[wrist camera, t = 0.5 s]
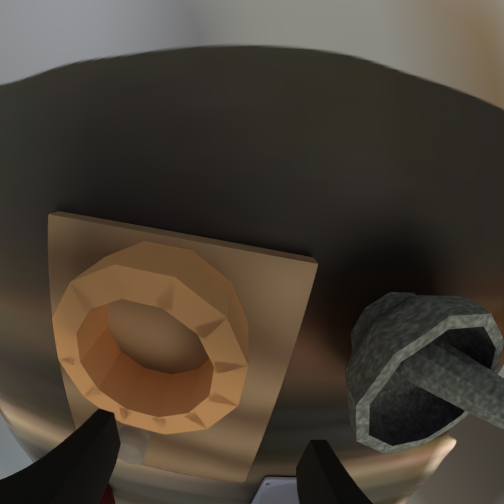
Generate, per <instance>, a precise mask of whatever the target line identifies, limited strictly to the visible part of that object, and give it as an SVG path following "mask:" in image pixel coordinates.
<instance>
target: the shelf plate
mask: <svg viewBox="0 0 504 504" xmlns="http://www.w3.org/2000/svg"><path fill="white" fill-rule="evenodd" d="M143 241H146V242H151V243H156V244H162V245H167V246H172V247H178V248H183V249H188V250H193V251H194V252H195V253H196V254H197V255H199V256H200V257H201V258H202V259H204V260H205V261H206V262H207V263H209V264H210V265H211V266H212V267H213V268H215V269H216V270H217V271H218V272H220V273H221V274H222V275H223V276H225V277H226V278H227V279H228V280H230V281H231V282H232V284H233V287H234V289H235V292H236V294H237V297H238V299H239V302H240V304H241V307H242V309H243V312H244V314H245V317H246V319H247V322H248V369H247V374H246V378H245V382H244V386H243V389H242V393H241V397H240V401H239V406H237V407H236V408H235V409H233V410H232V411H231V412H229V413H228V414H227V415H225V416H224V417H223V418H221V419H220V420H219V421H217V422H216V423H215V424H213V425H212V426H210V427H209V428H208V429H204V430H197V431H190V432H182V433H174V434H161V433H157V432H153V431H149V430H145V429H141V428H138V427H134V426H131V425H127V424H124V423H121V422H119V421H118V420H116V424H117V429H118V433H119V438H120V442H121V445H120V449H119V453H118V457H117V458H120V459H121V460H123V461H125V462H128V463H132V464H141V465H145V466H149V467H153V468H157V469H161V470H165V471H170V472H175V473H180V474H185V475H190V476H196V477H202V478H209V479H216V480H223V481H232V482H242V483H245V480H246V478H247V475H248V473H249V471H250V468H251V466H252V463H253V461H254V458H255V456H256V453H257V451H258V448H259V446H260V443H261V440H262V438H263V435H264V433H265V430H266V427H267V425H268V422H269V419H270V416H271V414H272V411H273V408H274V405H275V403H276V400H277V397H278V394H279V391H280V388H281V385H282V382H283V380H284V377H285V374H286V371H287V368H288V365H289V361H290V358H291V355H292V352H293V349H294V346H295V343H296V340H297V336H298V333H299V330H300V327H301V323H302V320H303V317H304V313H305V310H306V306H307V303H308V299H309V296H310V292H311V289H312V285H313V282H314V278H315V274H316V271H317V267H318V263H317V262H316V260H315V259H314V258H313V257H308V256H303V255H297V254H292V253H287V252H281V251H276V250H271V249H265V248H260V247H255V246H249V245H244V244H238V243H233V242H228V241H222V240H217V239H211V238H206V237H200V236H195V235H190V234H184V233H179V232H173V231H168V230H162V229H157V228H151V227H146V226H140V225H134V224H129V223H123V222H118V221H112V220H106V219H101V218H95V217H90V216H84V215H78V214H73V213H67V212H61V211H57V212H54V213H51V214H48V269H49V286H50V299H51V309H52V317H53V315H54V313H55V311H56V309H57V307H58V305H59V303H60V301H61V299H62V297H63V295H64V293H65V291H66V289H67V287H68V285H69V283H70V282H71V281H72V280H73V279H75V278H76V277H78V276H79V275H80V274H82V273H83V272H84V271H86V270H87V269H89V268H90V267H91V266H93V265H94V264H96V263H97V262H99V261H100V260H101V259H103V258H104V257H106V256H108V255H111V254H113V253H116V252H118V251H121V250H123V249H126V248H128V247H131V246H133V245H136V244H138V243H141V242H143ZM107 324H108V328H109V330H110V332H111V334H112V335H113V337H114V339H115V341H116V342H117V344H118V346H119V348H120V349H121V351H122V352H124V353H125V354H126V355H128V356H129V357H130V358H132V359H133V360H134V361H136V362H137V363H138V364H140V365H141V366H143V367H144V368H147V369H151V370H155V371H159V372H164V373H168V374H176V373H181V372H186V371H190V370H195V369H198V368H199V367H200V366H201V365H203V364H204V363H205V362H206V361H207V360H208V359H209V356H208V354H207V352H206V350H205V348H204V346H203V344H202V342H201V340H200V338H199V336H198V334H196V333H195V332H193V331H192V330H191V329H189V328H188V327H187V326H185V325H184V324H183V323H181V322H180V321H179V320H177V319H176V318H175V317H173V316H172V315H171V314H169V313H168V312H167V311H165V310H164V309H163V308H159V307H155V306H150V305H146V304H142V303H137V302H133V301H129V300H125V299H120V300H116V301H113V302H110V303H107ZM59 363H60V361H59ZM60 368H61V372H62V377H63V382H64V386H65V390H66V394H67V398H68V402H69V406H70V410H71V413H72V417H73V420H74V423H75V427H76V430H77V429H78V428H79V427H80V426H81V425H82V424H83V423H84V422H85V421H86V420H87V419H88V418H89V417H90V416H91V415H92V414H93V413H94V412H95V411H96V410H97V409H99V407H97V406H96V405H95V404H93V403H92V402H90V401H89V400H88V399H86V398H85V397H84V396H83V395H82V394H81V392H80V391H79V389H78V388H77V387H76V385H75V384H74V382H73V381H72V379H71V378H70V376H69V375H68V374H67V372H66V371H65V369H64V367H63V366H62V364H61V363H60Z"/></svg>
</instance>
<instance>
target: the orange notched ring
mask: <svg viewBox="0 0 504 504" xmlns="http://www.w3.org/2000/svg"><path fill="white" fill-rule="evenodd" d="M120 299H125V300H129V301H133V302H137V303H142V304H146V305H150V306H155V307H159V308H163V309H164V310H165V311H167V312H168V313H169V314H171V315H172V316H173V317H175V318H176V319H177V320H179V321H180V322H181V323H183V324H184V325H185V326H187V327H188V328H189V329H191V330H192V331H193V332H195V333H196V334H198V336H199V338H200V340H201V342H202V344H203V346H204V348H205V350H206V352H207V354H208V356H209V359H208V360H207V361H206V362H205V363H204V364H203V365H201V366H200V367H199V368H198V369H195V370H190V371H186V372H181V373H176V374H168V373H164V372H159V371H155V370H151V369H147V368H144V367H143V366H141V365H140V364H138V363H137V362H136V361H134V360H133V359H132V358H130V357H129V356H128V355H126V354H125V353H124V352H122V351H121V349H120V348H119V346H118V344H117V342H116V341H115V339H114V337H113V335H112V334H111V332H110V330H109V328H108V324H107V303H110V302H113V301H116V300H120ZM52 322H53V329H54V336H55V342H56V348H57V354H58V360H59V361H60V363H61V364H62V366H63V367H64V369H65V371H66V372H67V374H68V375H69V376H70V378H71V379H72V381H73V382H74V384H75V385H76V387H77V388H78V389H79V391H80V392H81V394H82V395H83V396H84V397H85V398H86V399H88V400H89V401H90V402H92V403H93V404H95V405H96V406H97V407H99V408H100V409H103V410H106V411H110V412H113V413H114V415H115V419H116V420H118V421H119V422H121V423H124V424H127V425H131V426H134V427H138V428H141V429H145V430H149V431H153V432H157V433H161V434H174V433H182V432H190V431H197V430H204V429H208V428H209V427H210V426H212V425H213V424H215V423H216V422H217V421H219V420H220V419H221V418H223V417H224V416H225V415H227V414H228V413H229V412H231V411H232V410H233V409H235V408H236V407H237V406H239V401H240V397H241V393H242V389H243V386H244V382H245V378H246V374H247V369H248V322H247V319H246V317H245V314H244V312H243V309H242V307H241V304H240V302H239V299H238V297H237V294H236V292H235V289H234V287H233V284H232V282H231V281H230V280H228V279H227V278H226V277H225V276H223V275H222V274H221V273H220V272H218V271H217V270H216V269H215V268H213V267H212V266H211V265H210V264H209V263H207V262H206V261H205V260H204V259H202V258H201V257H200V256H199V255H197V254H196V253H195V252H194V251H193V250H188V249H183V248H178V247H172V246H167V245H162V244H156V243H151V242H146V241H143V242H141V243H138V244H136V245H133V246H131V247H128V248H126V249H123V250H121V251H118V252H116V253H113V254H111V255H108V256H106V257H104V258H103V259H101V260H100V261H99V262H97V263H96V264H94V265H93V266H91V267H90V268H89V269H87V270H86V271H84V272H83V273H82V274H80V275H79V276H78V277H76V278H75V279H73V280H72V281H71V282H70V283H69V285H68V287H67V289H66V291H65V293H64V295H63V297H62V299H61V301H60V303H59V305H58V307H57V309H56V311H55V313H54V315H53V317H52Z"/></svg>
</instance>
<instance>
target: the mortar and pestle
mask: <svg viewBox="0 0 504 504" xmlns="http://www.w3.org/2000/svg"><path fill="white" fill-rule="evenodd" d="M351 344H352V353H351V355H350V357H349V360H348V363H347V366H346V369H345V372H346V386H347V401H348V410H349V417H350V424H351V427H352V430H353V433H354V436H355V438H356V441H358V442H360V443H362V444H364V445H366V446H369V447H371V448H373V449H376V450H378V451H380V452H383V453H389V452H394V451H399V450H403V449H408V448H412V447H416V446H420V445H424V444H426V443H428V442H429V441H431V440H433V439H434V438H436V437H437V436H439V435H441V434H442V433H444V432H445V431H447V430H448V429H450V428H451V427H452V426H454V425H455V424H457V423H458V422H459V421H461V420H462V419H464V417H466V416H467V414H468V413H471V414H473V415H475V416H477V417H479V418H481V419H483V420H485V421H487V422H489V423H492V424H494V425H496V426H498V427H500V428H502V429H504V378H502V377H501V376H499V375H497V374H496V371H497V368H498V364H499V361H500V357H501V353H502V349H503V345H504V339H503V337H502V335H501V333H500V331H499V329H498V327H497V325H496V323H495V321H494V319H493V317H492V315H491V313H489V312H488V311H487V310H485V309H484V308H482V307H481V306H480V305H478V304H477V303H475V302H473V301H470V300H468V299H465V298H463V297H460V296H430V295H419V296H417V295H416V294H415V293H408V292H389V293H388V294H386V295H385V296H383V297H381V298H380V299H378V300H377V301H375V302H373V303H372V304H370V305H369V306H367V307H365V309H364V310H363V312H362V314H361V316H360V317H359V319H358V321H357V322H356V324H355V326H354V328H353V329H352V331H351Z"/></svg>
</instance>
